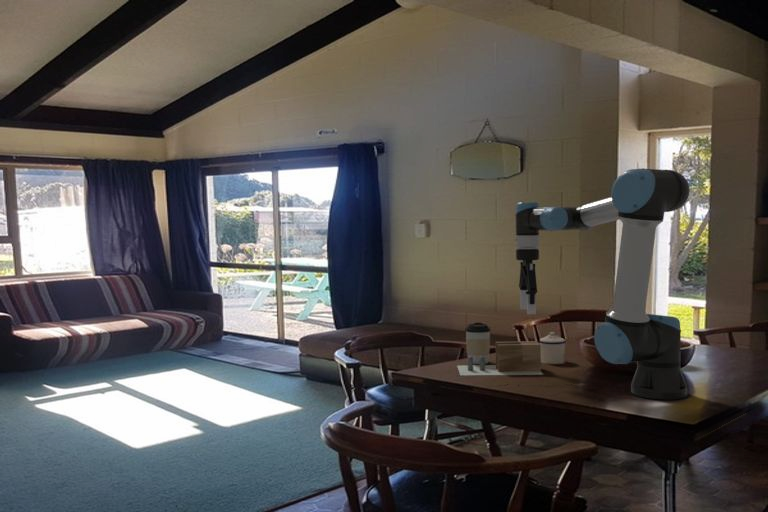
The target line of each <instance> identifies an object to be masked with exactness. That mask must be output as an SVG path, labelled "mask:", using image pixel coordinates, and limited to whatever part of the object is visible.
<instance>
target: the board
mask: <svg viewBox="0 0 768 512" xmlns="http://www.w3.org/2000/svg"><path fill="white" fill-rule="evenodd" d="M479 359H480V364H473V357H471V356H469V357H468V356H467V365H466V364H465V365H464V364H463V365H456V367H457V369H458V373H459V375H460V376H525V375H527V376H536V375H537V376H538V375H539V376H541V375H542V376H543V375H545V374H544V373H543V372H542V371H541V372H498V369H496V364H491V365H490V364H489V365H487V364H485V357H484V356H480V357H479Z"/></svg>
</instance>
